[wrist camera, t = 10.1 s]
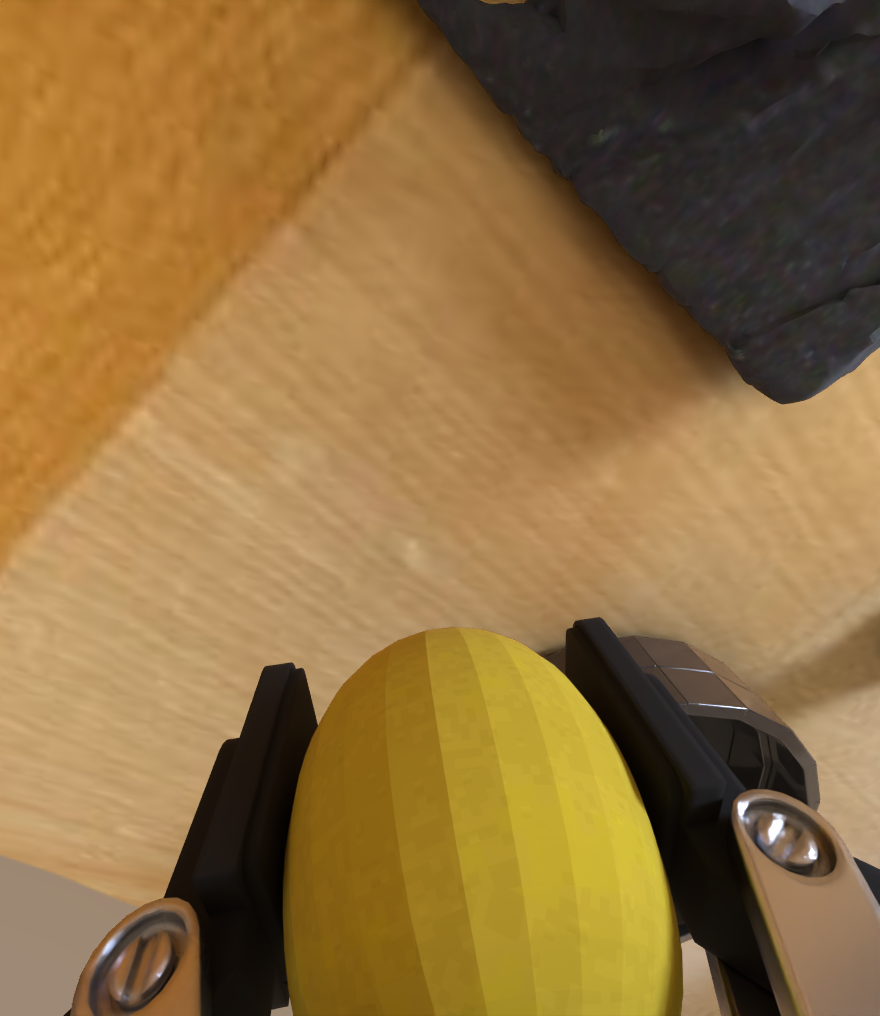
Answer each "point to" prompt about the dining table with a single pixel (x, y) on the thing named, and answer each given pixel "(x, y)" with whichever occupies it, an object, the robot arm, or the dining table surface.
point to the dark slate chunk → (713, 156)
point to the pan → (727, 720)
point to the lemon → (472, 847)
